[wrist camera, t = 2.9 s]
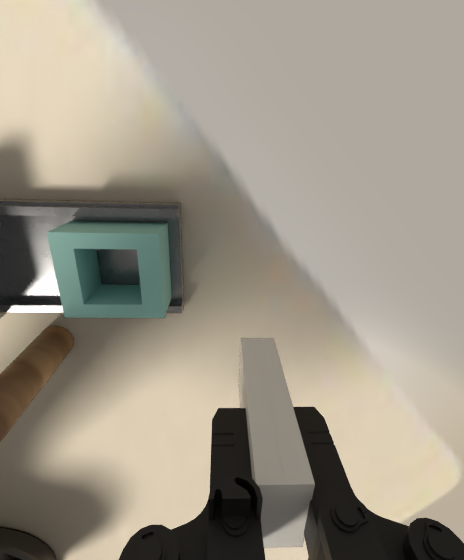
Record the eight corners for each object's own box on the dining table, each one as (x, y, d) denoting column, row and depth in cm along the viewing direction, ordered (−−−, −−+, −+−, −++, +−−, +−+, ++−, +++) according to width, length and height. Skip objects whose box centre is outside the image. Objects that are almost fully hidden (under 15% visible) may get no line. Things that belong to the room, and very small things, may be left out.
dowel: (45, 352, 32) (-49, 459, 21) (38, 326, 30) (-66, 424, 19) (76, 352, 32) (0, 458, 21) (71, 326, 31) (-14, 424, 20)
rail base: (-4, 304, 29) (-66, 346, 23) (-36, 198, 26) (-122, 213, 19) (184, 305, 30) (174, 347, 24) (180, 202, 26) (167, 218, 20)
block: (84, 296, 28) (64, 317, 24) (71, 220, 25) (46, 232, 22) (171, 296, 29) (164, 318, 25) (167, 222, 26) (158, 233, 22)
